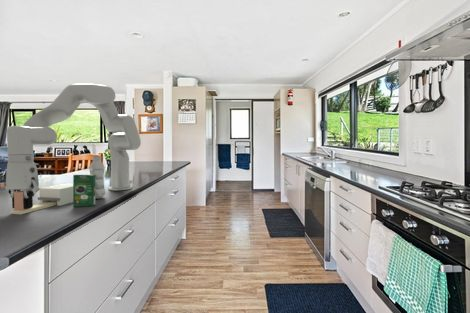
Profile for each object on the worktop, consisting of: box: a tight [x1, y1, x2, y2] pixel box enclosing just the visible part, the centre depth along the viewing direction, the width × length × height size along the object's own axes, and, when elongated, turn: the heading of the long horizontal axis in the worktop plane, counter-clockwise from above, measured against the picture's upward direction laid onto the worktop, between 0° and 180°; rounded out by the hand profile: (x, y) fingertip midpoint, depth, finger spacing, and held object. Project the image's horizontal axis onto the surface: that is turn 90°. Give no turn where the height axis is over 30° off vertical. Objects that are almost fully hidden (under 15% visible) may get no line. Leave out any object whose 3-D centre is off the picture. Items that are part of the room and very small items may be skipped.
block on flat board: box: [11, 190, 57, 215], centre depth 109 cm, size 19×4×8 cm, turn 169°
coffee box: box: [72, 174, 96, 208], centre depth 113 cm, size 8×3×13 cm, turn 102°
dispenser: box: [37, 182, 73, 207], centre depth 121 cm, size 15×10×7 cm
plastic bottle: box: [88, 155, 106, 200], centre depth 128 cm, size 6×7×20 cm
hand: (22, 207), depth 103 cm, fingers open, 4 cm apart
